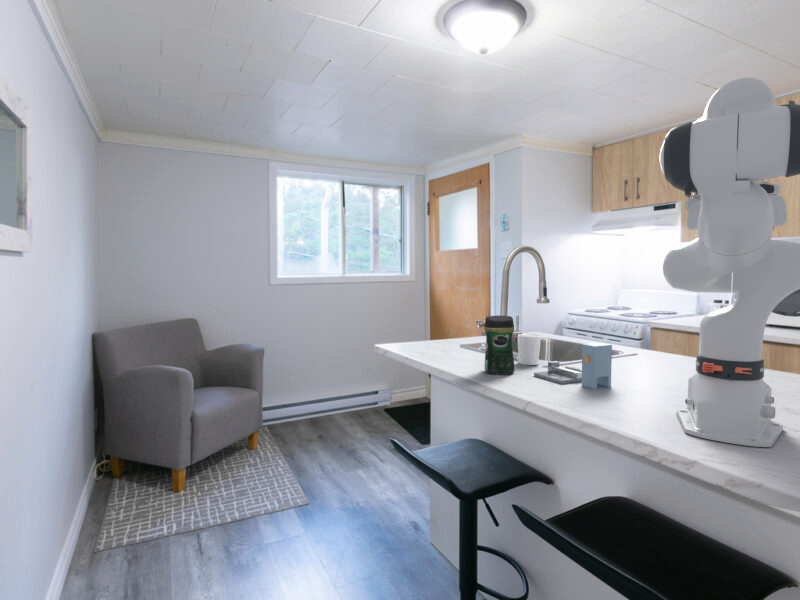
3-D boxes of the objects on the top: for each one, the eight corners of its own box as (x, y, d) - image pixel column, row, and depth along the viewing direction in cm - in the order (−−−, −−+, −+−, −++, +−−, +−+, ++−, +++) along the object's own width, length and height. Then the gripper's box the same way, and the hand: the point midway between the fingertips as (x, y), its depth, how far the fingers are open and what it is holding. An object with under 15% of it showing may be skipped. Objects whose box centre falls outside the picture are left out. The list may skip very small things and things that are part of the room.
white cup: (544, 363, 166) (544, 335, 165) (533, 366, 160) (534, 337, 159) (524, 360, 171) (524, 333, 170) (513, 363, 165) (513, 335, 165)
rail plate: (597, 379, 141) (597, 366, 141) (561, 384, 135) (562, 370, 135) (567, 371, 152) (568, 359, 152) (534, 375, 146) (534, 363, 146)
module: (611, 386, 132) (611, 344, 131) (592, 389, 129) (593, 346, 128) (598, 383, 136) (599, 342, 135) (580, 386, 133) (580, 344, 132)
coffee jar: (512, 369, 155) (512, 314, 154) (515, 375, 147) (516, 316, 146) (483, 369, 156) (483, 314, 155) (485, 374, 148) (485, 316, 147)
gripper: (685, 194, 119) (683, 248, 121) (789, 185, 107) (785, 245, 109) (687, 194, 124) (686, 246, 126) (786, 186, 112) (783, 243, 114)
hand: (733, 246), depth 117 cm, fingers open, 8 cm apart
